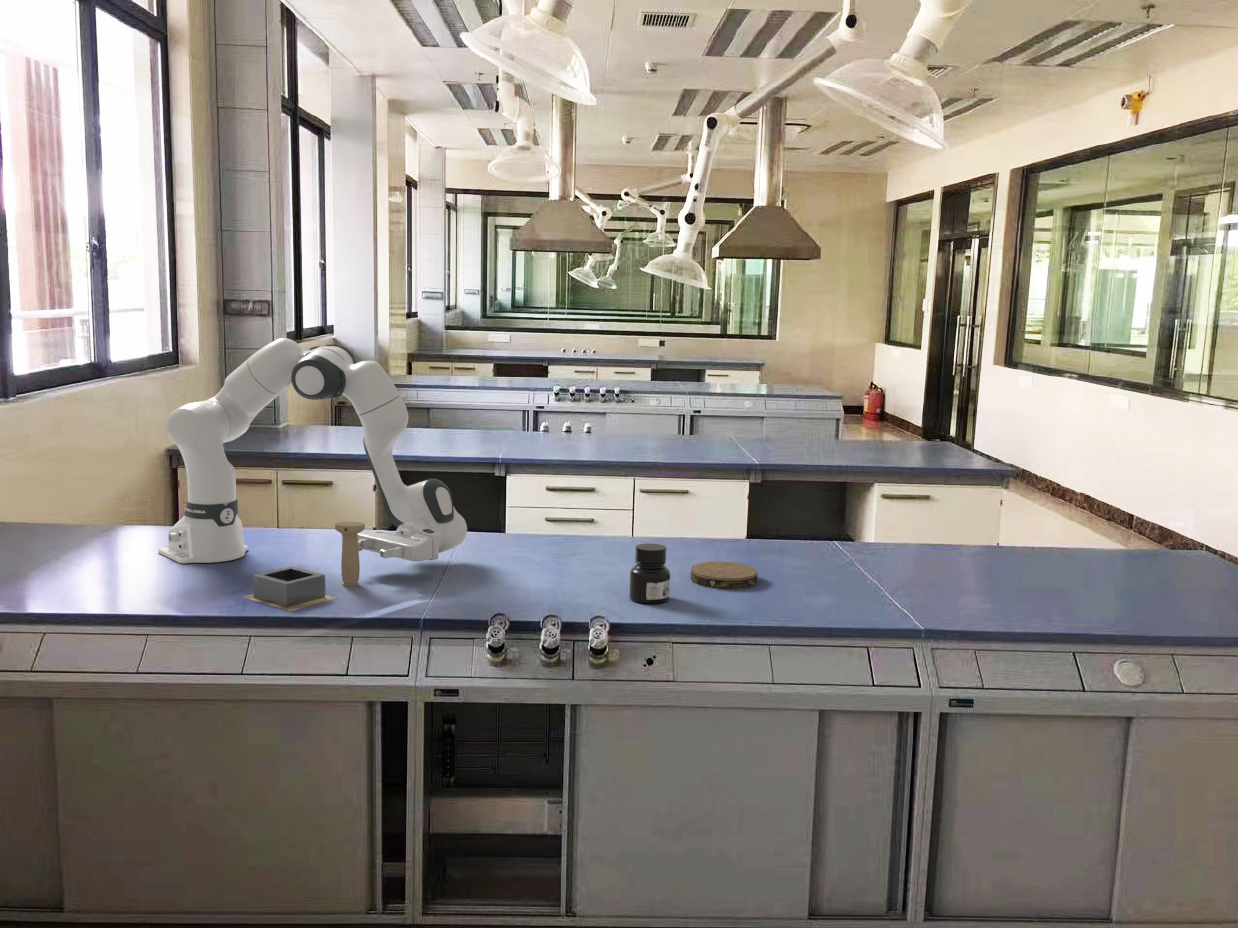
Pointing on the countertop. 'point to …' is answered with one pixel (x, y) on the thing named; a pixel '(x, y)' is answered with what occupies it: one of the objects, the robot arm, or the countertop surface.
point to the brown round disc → (724, 575)
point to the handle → (350, 551)
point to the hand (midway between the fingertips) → (367, 550)
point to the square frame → (289, 586)
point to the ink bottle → (650, 575)
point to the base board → (292, 608)
